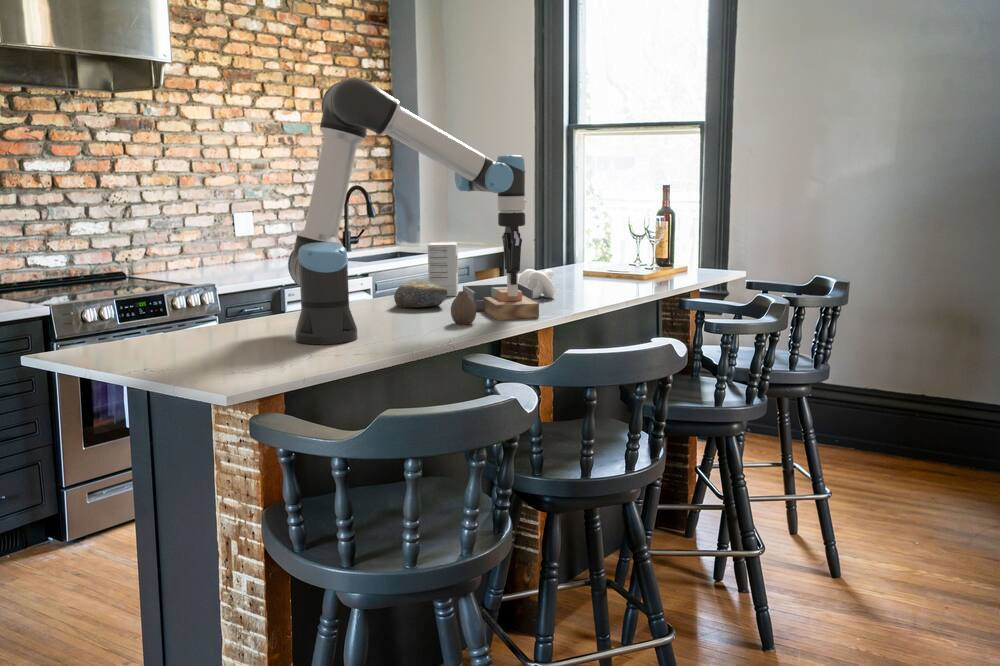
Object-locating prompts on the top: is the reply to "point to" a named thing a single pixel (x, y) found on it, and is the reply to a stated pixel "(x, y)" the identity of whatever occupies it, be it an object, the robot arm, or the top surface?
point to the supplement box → (444, 266)
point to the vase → (463, 309)
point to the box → (485, 291)
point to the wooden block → (511, 308)
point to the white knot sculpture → (538, 282)
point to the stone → (419, 294)
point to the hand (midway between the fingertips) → (512, 295)
